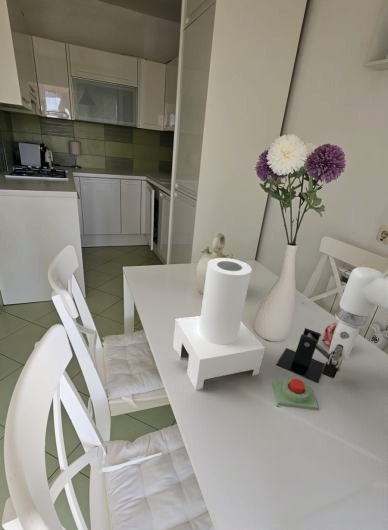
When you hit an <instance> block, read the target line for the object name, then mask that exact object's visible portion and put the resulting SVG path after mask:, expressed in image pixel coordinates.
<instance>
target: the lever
mask: <svg viewBox="0 0 388 530" xmlns="http://www.w3.org/2000/svg"><path fill="white" fill-rule="evenodd" d="M306 336H309V337H311V338H314V339H316V338H315V337H314V336H313V335H312V334H311V333H308V334H307V335H306ZM316 340H317V339H316ZM315 348H316V349H315V350H317V351H318V352H319V353H320V354H322V356H324V357H325V358H326V359H327V361H328V360H329V357H330V354H329V351H327V350H326V349H325V348H323V347H322V346H321V345H320V344H319V343H317V344H316V347H315ZM331 359H333V357H332V358H331ZM338 360H339V359H338ZM337 362H338V361H337ZM342 365H343V359H341V361H340V364H339V368H338V371H337V373H340V371H341V367H342Z"/></svg>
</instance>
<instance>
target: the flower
mask: <svg viewBox="0 0 388 530" xmlns="http://www.w3.org/2000/svg"><path fill="white" fill-rule="evenodd" d="M337 323H338V322H332V323H331V324H328V325H327V326H326V328H325V329H324V334H323V336H322V339H319V341H322V342H323V344H325V345H326V346H327V347H328V348H330V345H331V341H332V337H333V334H334V331H335V328H336V326H337Z"/></svg>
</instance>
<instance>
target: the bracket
mask: <svg viewBox="0 0 388 530" xmlns="http://www.w3.org/2000/svg"><path fill="white" fill-rule="evenodd" d="M308 333H311V334H312V335H313V336H314V337H315V338H316V339H317V340H316V339H314V338H311V337H309V336H306V335H307V334H308ZM321 335H322V333H320V332H319V331H318V332H317V331H315V330H312V329H309V328H307V327H305V328H304V330H303V333H302V334H300V338H299V341H298V344H297V347H296V350H292V349H291V348H288V347H286V348H285V349H284V351H283V353H282V354H281V355H280V358H279V359H278V361H277V362H276V366H277V367H280V368H282V369H284V370H287V371H289V372H291V373H293V374H295V375H297V376H300V377H303V378H305V379H307V380H309V381H312V382H314V383H316V384H319V381H320V378H321V376H322V372H323V370H324V367H325V365H326V363H324V362H322V361H320V360H317V359H316V358H315V359H314V358H313V357H314V354H315V351H316V350H317V349H316V348H315V347H316V344H319V341H320V337H321Z"/></svg>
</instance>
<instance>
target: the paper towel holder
mask: <svg viewBox="0 0 388 530" xmlns="http://www.w3.org/2000/svg"><path fill="white" fill-rule="evenodd" d="M252 271H253V270H252V267H251V266H250V265H249V263H246V262H244V261H242V260H239V259H236V258H232V259H230V258H215V259H211V260H210V261H209V262H208V264H207V272H206V279H205V287H204V294H202V303H201V310H200V315H196V316H188V317H179V318H175V320H174V321H175V322H174V334H173V342H172V343H173V344H172V347H173V349H174V351H175V352H177V354H178V359H179V360H181V357H182V348H183V347H184V348H185V349H184V350H186V352H187V354H188V362H187V367H186V368H187V369H186V374H187V376H188V378H189V380H190V382H191V384H192V385H193V388H194V389H195V391H198V390H203V389H204V383H205V380H208V379H213V378H218V377H224V376H228V375H234V374H238V373H242V372H248V371H252V375H251V376H256V375H259V373H260V369H261V365H262V362H263V358H264V354H265V351H266V347H265V346H264V345H263V344H262V343H261V341H260V340H259V339H258V338H257V337H256V336H255V335H254V334H253V333H252V332H251V331H250V330H249V328H247V326H245V324H244V323H243V322H242V319H243V313H244V309H245V303H246V298H247V294H248V289H249V285H250V280H251V275H252ZM182 345H183V347H182Z"/></svg>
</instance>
